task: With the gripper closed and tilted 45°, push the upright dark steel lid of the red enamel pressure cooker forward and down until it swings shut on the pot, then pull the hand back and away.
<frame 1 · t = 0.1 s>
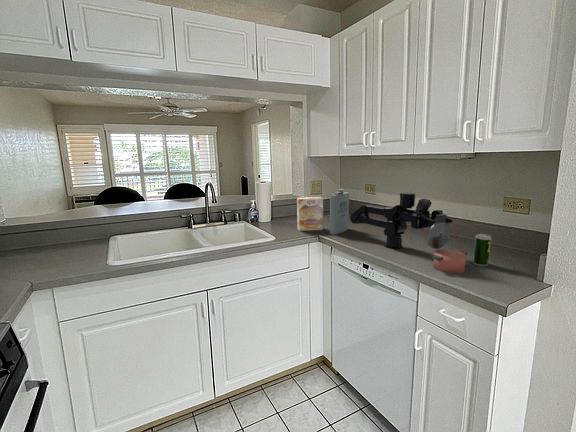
hand: (445, 222, 127), 17 cm above the worktop, tool horizontal, fingers open, 8 cm apart
cooker lid: (439, 231, 125), point 13 cm above the worktop, hinge at 85.7°, touching gripper
flask: (339, 231, 184), on the worktop
cooker pot: (448, 268, 122), on the worktop
coffeecake box: (310, 229, 190), on the worktop
beer can: (480, 264, 126), on the worktop
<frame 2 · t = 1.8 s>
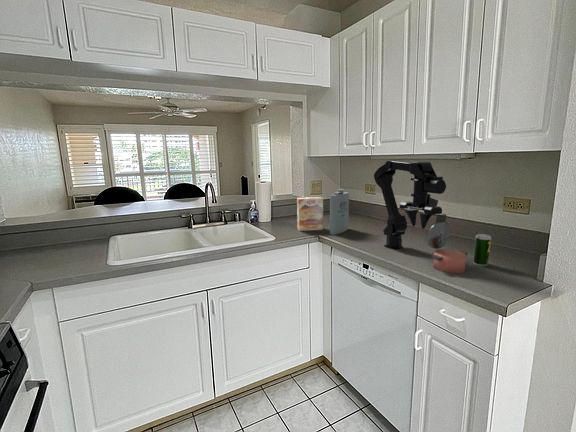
hand: (418, 227, 135), 13 cm above the worktop, tool pointing down, fingers open, 5 cm apart
cooker lid: (439, 231, 125), point 13 cm above the worktop, hinge at 85.7°
everything else where it was.
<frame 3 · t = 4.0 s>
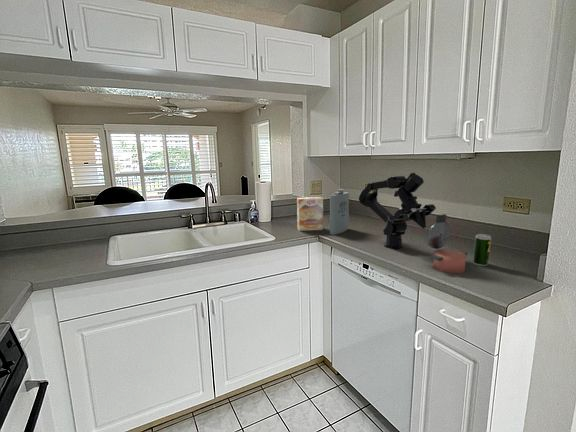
hand: (424, 227, 132), 13 cm above the worktop, tool tilted 45°, fingers closed
nothing on the worktop moved.
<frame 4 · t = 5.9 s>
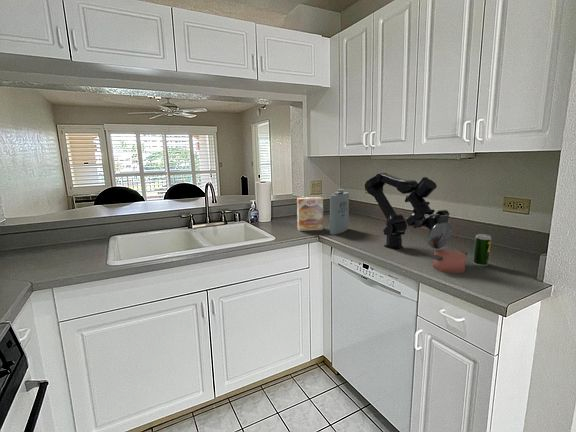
hand: (438, 234, 125), 12 cm above the worktop, tool tilted 45°, fingers closed, pressing on cooker lid
cooker lid: (440, 232, 124), point 13 cm above the worktop, hinge at 80.8°, touching gripper
everything else where it was.
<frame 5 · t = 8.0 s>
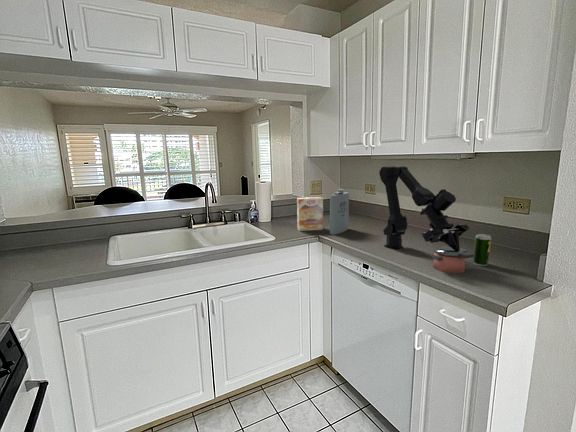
hand: (458, 251, 117), 8 cm above the worktop, tool tilted 45°, fingers closed, pressing on cooker lid
cooker lid: (453, 251, 119), point 7 cm above the worktop, hinge at 2.8°, touching gripper
everything else where it was.
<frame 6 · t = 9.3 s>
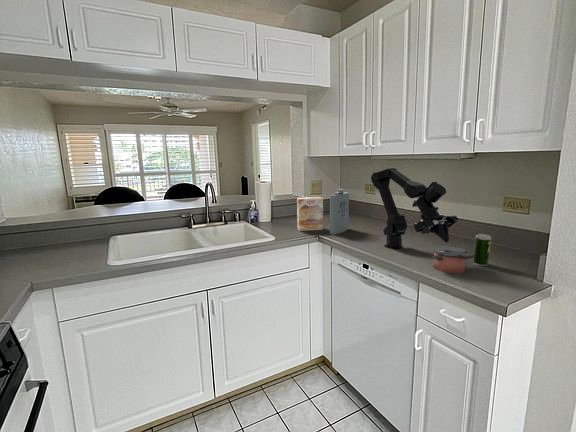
hand: (447, 241, 121), 10 cm above the worktop, tool tilted 45°, fingers closed
cooker lid: (453, 252, 119), point 7 cm above the worktop, hinge at 1.5°
everything else where it was.
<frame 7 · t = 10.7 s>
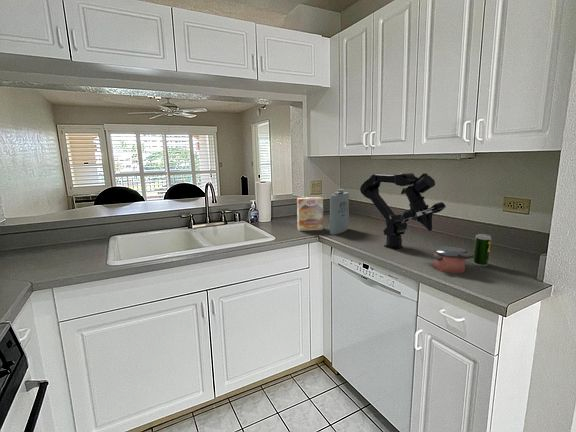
hand: (430, 230, 131), 12 cm above the worktop, tool tilted 35°, fingers closed
nothing on the worktop moved.
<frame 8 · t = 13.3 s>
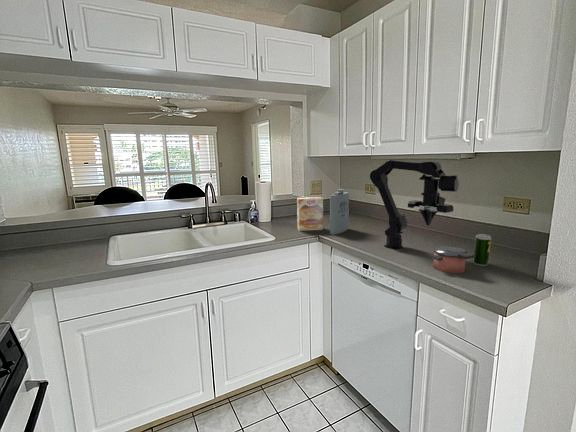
hand: (428, 225, 138), 13 cm above the worktop, tool pointing down, fingers closed
nothing on the worktop moved.
at the end: cooker lid at +2° (first picture: +86°); beer can moved 0.2 cm from its start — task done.
